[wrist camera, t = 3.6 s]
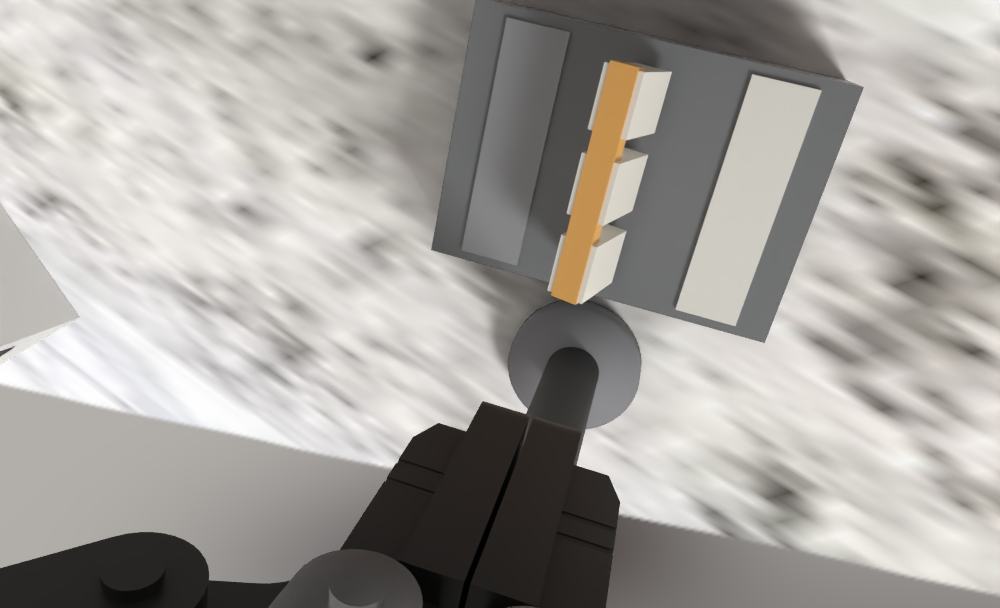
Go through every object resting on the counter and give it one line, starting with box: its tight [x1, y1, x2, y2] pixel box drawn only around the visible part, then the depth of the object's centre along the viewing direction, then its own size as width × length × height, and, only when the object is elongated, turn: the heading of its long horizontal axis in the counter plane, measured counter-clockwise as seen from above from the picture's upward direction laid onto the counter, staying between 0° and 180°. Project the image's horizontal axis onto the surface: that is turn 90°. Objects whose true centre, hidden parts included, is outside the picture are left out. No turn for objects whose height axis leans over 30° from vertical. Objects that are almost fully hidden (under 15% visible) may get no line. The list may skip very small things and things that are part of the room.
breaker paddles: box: [547, 60, 672, 305], centre depth 27 cm, size 1×8×3 cm, turn 169°
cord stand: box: [508, 301, 641, 465], centre depth 25 cm, size 6×6×21 cm
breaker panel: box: [431, 0, 864, 343], centre depth 30 cm, size 14×10×3 cm
